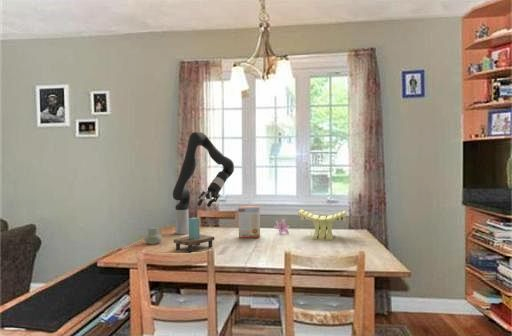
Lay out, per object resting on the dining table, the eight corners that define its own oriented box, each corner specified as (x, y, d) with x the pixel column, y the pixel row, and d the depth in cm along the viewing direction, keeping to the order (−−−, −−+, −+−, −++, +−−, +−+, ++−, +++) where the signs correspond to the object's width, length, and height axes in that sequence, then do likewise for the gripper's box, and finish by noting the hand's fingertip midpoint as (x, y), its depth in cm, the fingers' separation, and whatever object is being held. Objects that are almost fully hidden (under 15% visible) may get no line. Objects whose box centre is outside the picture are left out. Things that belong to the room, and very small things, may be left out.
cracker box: (260, 236, 276) (259, 205, 275) (259, 238, 270) (259, 207, 269) (239, 236, 277) (239, 205, 277) (238, 238, 271) (238, 207, 271)
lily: (270, 235, 282) (274, 225, 278) (271, 226, 293) (275, 215, 289) (286, 241, 283) (291, 230, 278) (287, 231, 293) (291, 220, 289)
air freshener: (143, 245, 253) (143, 229, 253) (145, 242, 261) (145, 227, 261) (161, 244, 255) (161, 228, 254) (162, 241, 263) (162, 226, 263)
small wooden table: (173, 249, 240) (173, 239, 240) (198, 243, 256) (198, 234, 256) (189, 252, 231) (189, 242, 231) (214, 246, 247) (214, 236, 247)
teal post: (188, 238, 243) (188, 218, 243) (194, 237, 247) (194, 217, 246) (193, 239, 240) (193, 219, 240) (199, 237, 244) (199, 218, 243)
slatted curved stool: (346, 235, 276) (345, 209, 275) (344, 240, 260) (344, 212, 260) (302, 233, 283) (302, 208, 283) (298, 238, 268) (298, 211, 267)
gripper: (205, 181, 260) (192, 201, 251) (221, 182, 251) (207, 202, 242) (211, 189, 264) (198, 208, 256) (227, 190, 255) (214, 210, 247)
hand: (203, 205), depth 249 cm, fingers open, 8 cm apart
